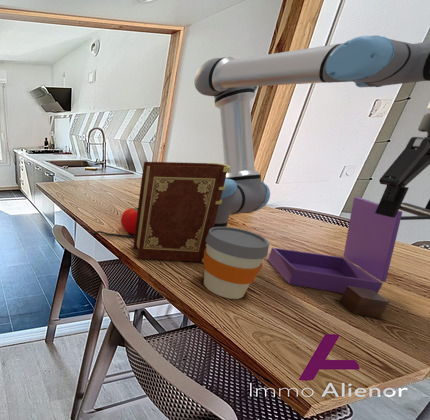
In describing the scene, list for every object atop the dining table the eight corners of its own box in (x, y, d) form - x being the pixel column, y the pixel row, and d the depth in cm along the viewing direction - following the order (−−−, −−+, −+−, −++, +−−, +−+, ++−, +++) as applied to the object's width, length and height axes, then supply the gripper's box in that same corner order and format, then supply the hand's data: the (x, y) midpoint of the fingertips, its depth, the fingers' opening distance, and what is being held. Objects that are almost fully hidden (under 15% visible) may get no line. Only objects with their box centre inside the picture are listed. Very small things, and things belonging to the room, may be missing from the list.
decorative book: (199, 250, 83) (219, 163, 74) (211, 263, 76) (235, 167, 66) (132, 247, 85) (143, 161, 76) (137, 259, 78) (150, 165, 68)
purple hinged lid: (398, 211, 54) (462, 209, 51) (353, 196, 66) (403, 194, 63) (381, 281, 59) (439, 284, 56) (343, 256, 71) (388, 257, 67)
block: (353, 313, 56) (361, 297, 54) (339, 300, 60) (347, 285, 58) (380, 318, 54) (389, 302, 53) (364, 305, 58) (372, 289, 57)
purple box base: (288, 283, 66) (294, 269, 65) (267, 260, 78) (272, 247, 76) (374, 298, 61) (383, 283, 59) (338, 271, 72) (344, 257, 71)
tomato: (150, 240, 91) (154, 214, 87) (118, 236, 94) (121, 211, 91) (148, 228, 102) (152, 205, 98) (120, 224, 105) (123, 202, 101)
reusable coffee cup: (235, 310, 56) (253, 253, 51) (186, 281, 67) (196, 231, 62) (263, 294, 62) (281, 241, 57) (213, 269, 72) (225, 223, 67)
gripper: (439, 110, 42) (388, 223, 49) (547, 107, 45) (484, 214, 52) (379, 112, 49) (341, 211, 56) (475, 110, 52) (428, 203, 59)
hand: (410, 213), depth 54 cm, fingers open, 13 cm apart
